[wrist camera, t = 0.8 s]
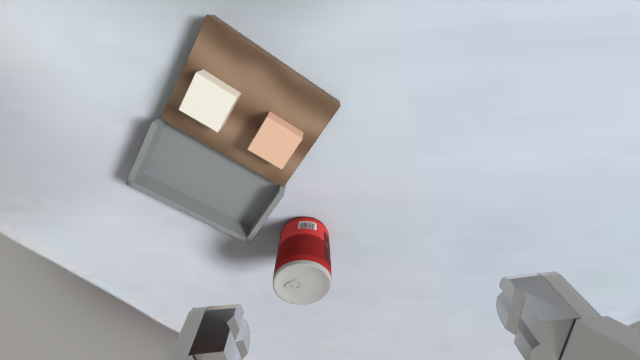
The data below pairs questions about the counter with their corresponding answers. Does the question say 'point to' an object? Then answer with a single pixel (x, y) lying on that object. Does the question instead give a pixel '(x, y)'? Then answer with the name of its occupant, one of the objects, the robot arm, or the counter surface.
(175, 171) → the tray
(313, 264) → the canned food
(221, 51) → the board
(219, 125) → the tile cream
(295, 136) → the tile terracotta
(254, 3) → the counter surface
